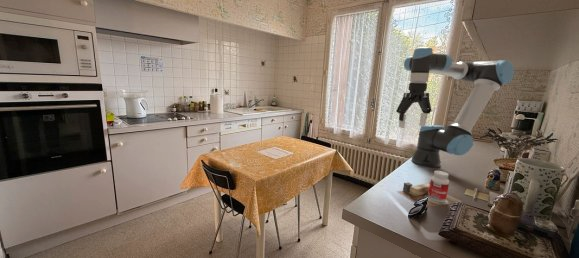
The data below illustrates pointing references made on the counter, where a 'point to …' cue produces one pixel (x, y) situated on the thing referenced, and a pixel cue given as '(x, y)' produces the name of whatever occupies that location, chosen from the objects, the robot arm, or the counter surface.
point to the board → (430, 202)
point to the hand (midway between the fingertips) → (411, 126)
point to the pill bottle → (438, 186)
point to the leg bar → (419, 189)
